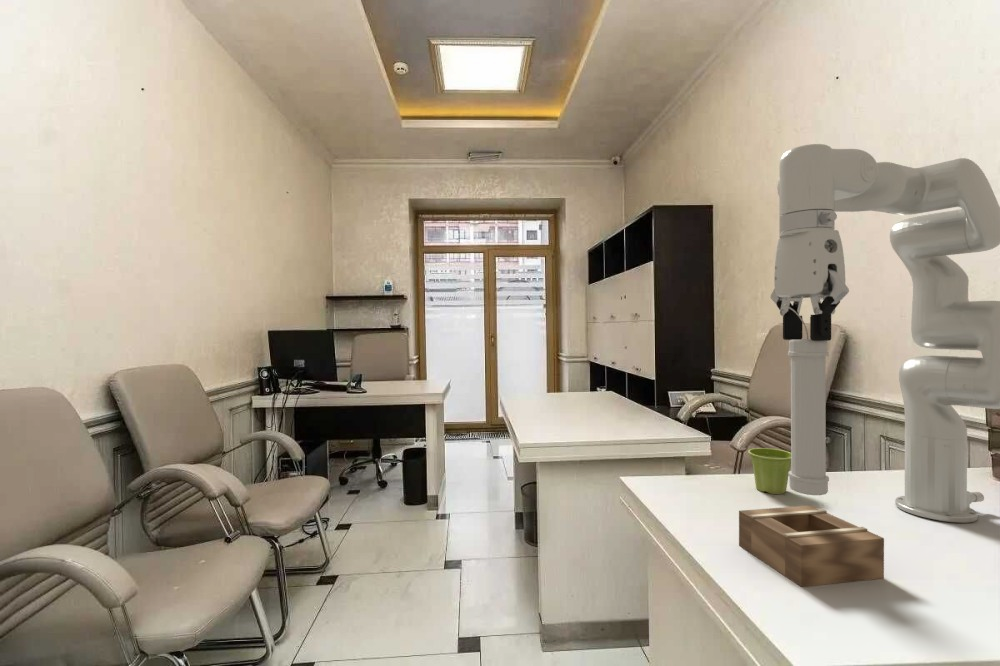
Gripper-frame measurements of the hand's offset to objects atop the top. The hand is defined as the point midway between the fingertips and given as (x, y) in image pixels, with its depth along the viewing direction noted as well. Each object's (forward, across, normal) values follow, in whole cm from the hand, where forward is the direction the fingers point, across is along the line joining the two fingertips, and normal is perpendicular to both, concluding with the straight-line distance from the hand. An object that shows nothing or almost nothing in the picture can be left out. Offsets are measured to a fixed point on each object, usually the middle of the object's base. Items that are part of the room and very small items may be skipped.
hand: (806, 338), depth 80 cm
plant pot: (+36, +32, -19) cm, 52 cm away
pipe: (+25, 0, 0) cm, 25 cm away
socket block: (+36, 0, 0) cm, 36 cm away
